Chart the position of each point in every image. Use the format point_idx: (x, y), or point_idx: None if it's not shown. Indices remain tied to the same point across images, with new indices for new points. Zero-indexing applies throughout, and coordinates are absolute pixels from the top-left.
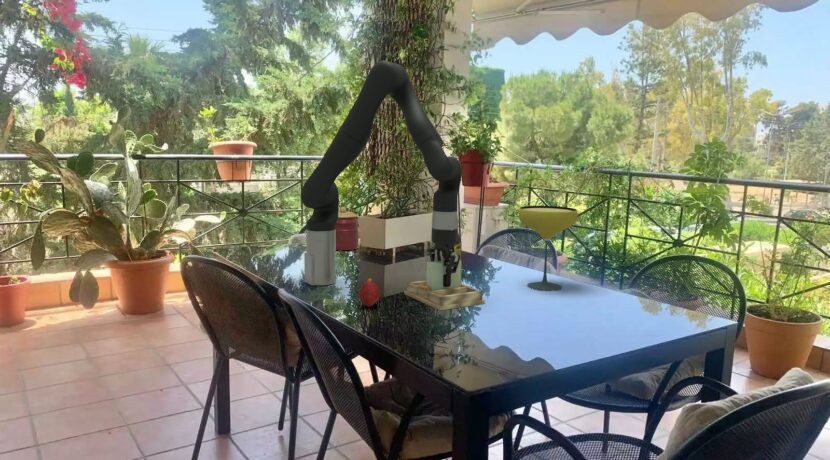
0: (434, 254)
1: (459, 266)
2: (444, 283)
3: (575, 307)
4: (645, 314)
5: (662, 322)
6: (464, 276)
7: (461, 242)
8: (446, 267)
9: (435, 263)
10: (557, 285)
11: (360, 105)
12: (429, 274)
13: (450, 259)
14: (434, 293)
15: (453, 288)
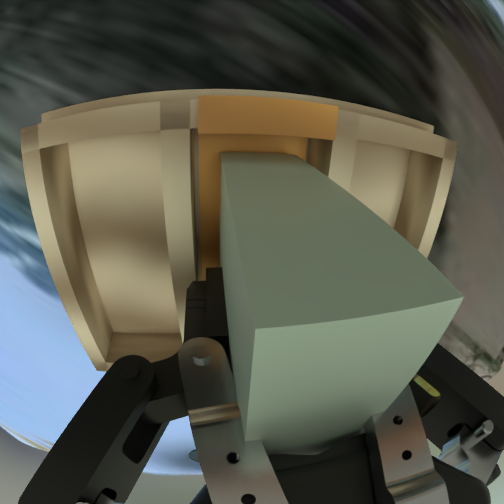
0: (463, 432)
1: None
2: (205, 282)
3: (64, 423)
4: (36, 434)
5: (7, 421)
6: None
7: (441, 451)
8: (189, 412)
9: (276, 392)
10: None
11: None
12: (298, 202)
13: (69, 501)
14: (112, 125)
15: None
